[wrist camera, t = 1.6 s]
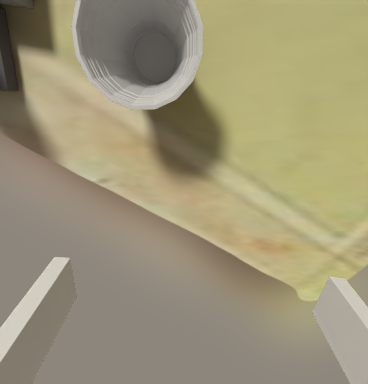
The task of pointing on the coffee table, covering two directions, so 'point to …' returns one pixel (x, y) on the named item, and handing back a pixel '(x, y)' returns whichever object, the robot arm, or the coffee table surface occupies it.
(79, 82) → the coffee table surface
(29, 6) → the port
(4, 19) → the dark grey slot tray
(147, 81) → the plastic cup
